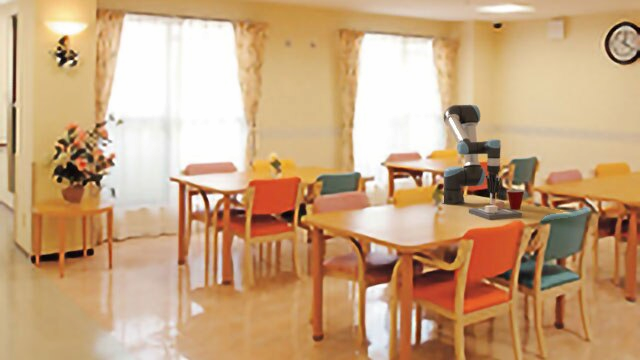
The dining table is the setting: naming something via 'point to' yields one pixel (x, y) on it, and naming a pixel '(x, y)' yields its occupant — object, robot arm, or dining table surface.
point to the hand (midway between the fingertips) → (492, 203)
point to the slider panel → (500, 214)
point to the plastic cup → (515, 198)
